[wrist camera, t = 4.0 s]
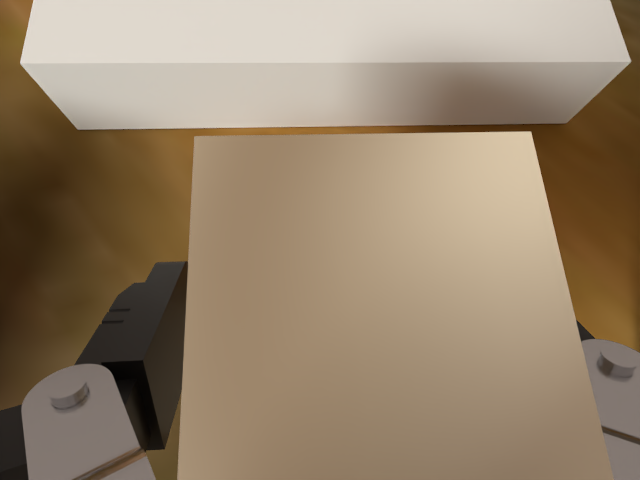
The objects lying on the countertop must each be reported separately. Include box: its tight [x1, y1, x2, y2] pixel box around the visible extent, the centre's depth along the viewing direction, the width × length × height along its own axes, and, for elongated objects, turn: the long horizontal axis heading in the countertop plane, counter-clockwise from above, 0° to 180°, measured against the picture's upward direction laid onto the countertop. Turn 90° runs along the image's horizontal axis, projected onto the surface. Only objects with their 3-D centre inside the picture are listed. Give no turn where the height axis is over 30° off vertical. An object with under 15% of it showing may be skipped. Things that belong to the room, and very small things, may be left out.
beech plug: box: [177, 131, 614, 480], centre depth 10 cm, size 4×4×12 cm
